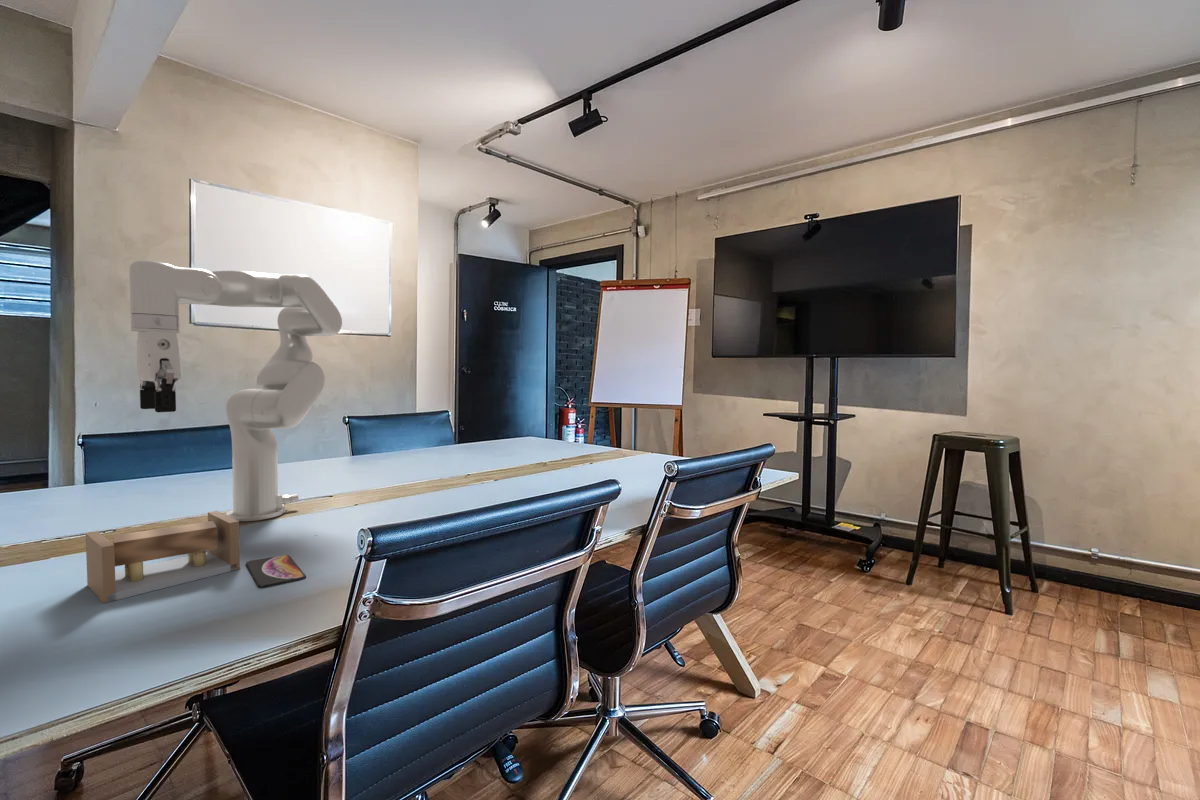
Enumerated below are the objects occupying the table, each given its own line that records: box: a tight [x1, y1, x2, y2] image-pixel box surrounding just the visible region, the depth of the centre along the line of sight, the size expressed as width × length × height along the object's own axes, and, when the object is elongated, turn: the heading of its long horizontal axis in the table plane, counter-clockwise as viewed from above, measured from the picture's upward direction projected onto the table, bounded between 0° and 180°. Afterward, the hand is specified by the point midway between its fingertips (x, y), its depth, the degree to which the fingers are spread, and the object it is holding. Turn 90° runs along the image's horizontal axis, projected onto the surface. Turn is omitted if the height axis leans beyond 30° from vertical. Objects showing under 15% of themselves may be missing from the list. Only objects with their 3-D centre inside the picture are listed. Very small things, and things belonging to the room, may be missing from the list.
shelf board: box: [112, 521, 217, 567], centre depth 96 cm, size 14×5×4 cm, turn 133°
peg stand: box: [85, 510, 241, 604], centre depth 96 cm, size 19×11×9 cm, turn 143°
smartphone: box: [245, 554, 307, 589], centre depth 100 cm, size 8×1×15 cm
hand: (157, 410), depth 109 cm, fingers open, 9 cm apart
